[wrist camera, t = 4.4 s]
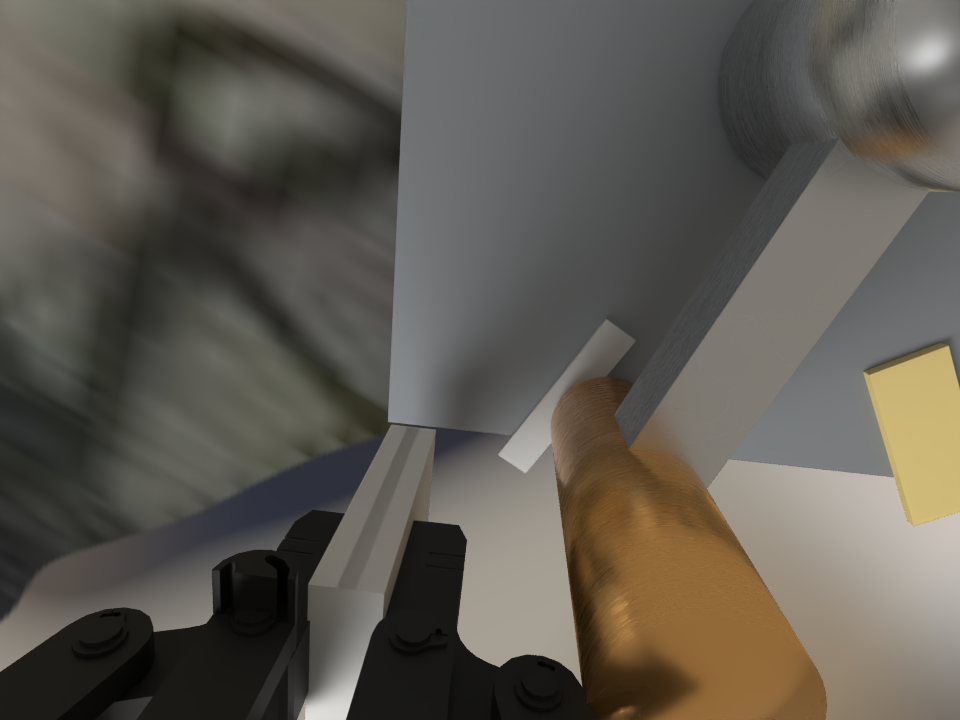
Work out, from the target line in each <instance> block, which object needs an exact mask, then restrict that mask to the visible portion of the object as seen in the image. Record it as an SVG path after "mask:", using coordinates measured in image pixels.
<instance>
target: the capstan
mask: <svg viewBox="0 0 960 720" xmlns="http://www.w3.org/2000/svg"><path fill="white" fill-rule="evenodd" d="M718 103H719V112H720V116H721V120H722V124H723V127H724V130H725V132H726V135H727V137H728V140H729V141H730V143H731V145H732V146H733V148H734V150H735V151H736V153H737V154H738V155H739V156H740V158H741V159H742V160H743V161H744V162H745V163H746V164H747V165H748V166H749V167H750V168H751V169H752V170H754V171H755V172H757V173H758V174H760V175H761V176H762V177H764V178H766V179H768V180H767V182H766V183H765V185H764V186H763V188H762V189H761V191H760V192H759V194H758V195H757V197H756V198H755V200H754V202H753V203H752V205H751V206H750V208H749V209H748V211H747V212H746V214H745V215H744V217H743V218H742V220H741V221H740V223H739V224H738V226H737V227H736V229H735V231H734V232H733V234H732V235H731V237H730V238H729V240H728V241H727V243H726V244H725V246H724V247H723V249H722V250H721V252H720V253H719V255H718V257H717V258H716V260H715V261H714V263H713V264H712V266H711V267H710V269H709V270H708V272H707V273H706V275H705V276H704V278H703V279H702V281H701V283H700V284H699V286H698V287H697V289H696V290H695V292H694V293H693V295H692V296H691V298H690V299H689V301H688V302H687V304H686V305H685V307H684V309H683V310H682V312H681V313H680V315H679V316H678V318H677V319H676V321H675V322H674V324H673V325H672V327H671V328H670V330H669V331H668V333H667V334H666V336H665V338H664V339H663V341H662V342H661V344H660V345H659V347H658V348H657V350H656V351H655V353H654V354H653V356H652V357H651V359H650V360H649V362H648V364H647V365H646V367H645V368H644V370H643V371H642V373H641V374H640V376H639V377H638V379H637V380H636V382H635V383H632V382H629V381H627V380H624V379H621V378H615V377H598V378H594V379H590V380H587V381H584V382H582V383H580V384H578V385H576V386H574V387H573V388H571V389H570V390H569V391H568V392H567V393H566V394H565V395H564V396H563V397H562V398H561V399H560V401H559V402H558V404H557V405H556V407H555V409H554V412H553V415H552V419H551V427H550V430H551V440H552V447H553V456H554V464H555V472H556V480H557V487H558V496H559V503H560V511H561V520H562V528H563V536H564V544H565V552H566V559H567V568H568V576H569V584H570V592H571V600H572V608H573V616H574V623H575V632H576V640H577V648H578V656H579V664H580V672H581V680H582V688H583V690H584V693H585V695H586V702H587V703H588V704H590V706H591V708H592V711H593V713H594V715H595V718H596V720H825V719H826V710H827V700H826V692H825V688H824V684H823V681H822V679H821V677H820V674H819V672H818V670H817V668H816V667H815V665H814V663H813V662H812V660H811V659H810V657H809V655H808V654H807V652H806V651H805V649H804V647H803V646H802V644H801V642H800V641H799V639H798V638H797V636H796V634H795V632H794V631H793V629H792V628H791V626H790V624H789V623H788V621H787V619H786V618H785V616H784V615H783V613H782V611H781V610H780V608H779V606H778V605H777V603H776V602H775V600H774V598H773V596H772V595H771V593H770V592H769V590H768V588H767V587H766V585H765V583H764V582H763V580H762V579H761V577H760V575H759V574H758V572H757V570H756V569H755V567H754V565H753V564H752V562H751V561H750V559H749V557H748V556H747V554H746V553H745V551H744V549H743V547H742V546H741V544H740V543H739V541H738V539H737V538H736V536H735V534H734V533H733V531H732V530H731V528H730V526H729V525H728V523H727V522H726V520H725V518H724V517H723V515H722V513H721V512H720V510H719V508H718V507H717V505H716V503H715V502H714V500H713V498H712V497H711V495H710V494H709V492H708V490H707V488H708V487H709V485H710V484H711V483H712V481H713V480H714V479H715V477H716V476H717V475H718V473H719V472H720V471H721V469H722V468H723V467H724V465H725V464H726V463H727V461H728V460H729V459H730V457H731V456H732V455H733V453H734V452H735V451H736V449H737V448H738V446H739V445H740V444H741V442H742V441H743V440H744V438H745V437H746V436H747V434H748V433H749V432H750V430H751V429H752V428H753V426H754V425H755V424H756V422H757V421H758V420H759V418H760V417H761V416H762V414H763V413H764V412H765V410H766V409H767V408H768V406H769V405H770V404H771V402H772V401H773V400H774V398H775V397H776V396H777V394H778V393H779V392H780V390H781V389H782V388H783V386H784V385H785V384H786V382H787V381H788V380H789V378H790V377H791V376H792V374H793V373H794V372H795V370H796V369H797V368H798V366H799V365H800V364H801V362H802V361H803V360H804V358H805V357H806V356H807V354H808V353H809V351H810V350H811V349H812V347H813V346H814V345H815V343H816V342H817V341H818V339H819V338H820V337H821V335H822V334H823V333H824V331H825V330H826V329H827V327H828V326H829V325H830V323H831V322H832V321H833V319H834V318H835V317H836V315H837V314H838V313H839V311H840V310H841V309H842V307H843V306H844V305H845V303H846V302H847V301H848V299H849V298H850V297H851V295H852V294H853V293H854V291H855V290H856V289H857V287H858V286H859V285H860V283H861V282H862V281H863V279H864V278H865V277H866V275H867V274H868V273H869V271H870V270H871V269H872V267H873V266H874V265H875V263H876V262H877V260H878V259H879V258H880V256H881V255H882V254H883V252H884V251H885V250H886V248H887V247H888V246H889V244H890V243H891V242H892V240H893V239H894V238H895V236H896V235H897V234H898V232H899V231H900V230H901V228H902V227H903V226H904V224H905V223H906V222H907V220H908V219H909V218H910V216H911V215H912V214H913V212H914V211H915V210H916V208H917V207H918V206H919V204H920V203H921V202H922V200H923V199H924V198H925V196H926V195H927V194H928V192H960V0H754V1H753V2H752V3H751V4H750V5H749V7H748V8H747V9H746V11H745V12H744V14H743V15H742V17H741V18H740V20H739V21H738V23H737V25H736V26H735V28H734V30H733V32H732V34H731V36H730V38H729V41H728V44H727V46H726V49H725V51H724V55H723V59H722V63H721V67H720V73H719V80H718Z"/></svg>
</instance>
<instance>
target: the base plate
mask: <svg viewBox="0 0 960 720" xmlns="http://www.w3.org/2000/svg"><path fill="white" fill-rule="evenodd" d="M753 1H754V0H407V7H406V29H405V52H404V74H403V97H402V119H401V142H400V164H399V187H398V209H397V232H396V254H395V277H394V299H393V322H392V344H391V367H390V389H389V412H388V422H395V423H404V424H413V425H422V426H433V427H441V428H450V429H459V430H468V431H478V432H487V433H496V434H504V435H505V434H506V435H511V436H510V438H509V439H508V440H507V441H506V443H505V444H504V445H503V446H502V448H501V449H500V450H499V452H498V455H499V456H501V457H502V458H503V459H505V460H507V461H508V462H510V463H511V464H513V465H514V466H515V467H517V468H519V469H520V470H522V471H523V472H524V473H526V472H527V471H528V470H529V468H530V467H531V466H532V465H533V464H534V463H535V461H536V460H537V459H538V458H539V457H540V455H541V454H542V453H543V452H544V450H545V449H546V448H547V447H548V445H550V443H551V442H552V440H551V430H550V427H551V419H552V415H553V412H554V409H555V407H556V405H557V404H558V402H559V401H560V399H561V398H562V397H563V396H564V395H565V394H566V393H567V392H568V391H569V390H570V389H571V388H573V387H574V386H576V385H578V384H580V383H582V382H584V381H587V380H590V379H594V378H598V377H615V378H621V379H624V380H627V381H629V382H632V383H635V382H636V380H637V379H638V377H639V376H640V374H641V373H642V371H643V370H644V368H645V367H646V365H647V364H648V362H649V360H650V359H651V357H652V356H653V354H654V353H655V351H656V350H657V348H658V347H659V345H660V344H661V342H662V341H663V339H664V338H665V336H666V334H667V333H668V331H669V330H670V328H671V327H672V325H673V324H674V322H675V321H676V319H677V318H678V316H679V315H680V313H681V312H682V310H683V309H684V307H685V305H686V304H687V302H688V301H689V299H690V298H691V296H692V295H693V293H694V292H695V290H696V289H697V287H698V286H699V284H700V283H701V281H702V279H703V278H704V276H705V275H706V273H707V272H708V270H709V269H710V267H711V266H712V264H713V263H714V261H715V260H716V258H717V257H718V255H719V253H720V252H721V250H722V249H723V247H724V246H725V244H726V243H727V241H728V240H729V238H730V237H731V235H732V234H733V232H734V231H735V229H736V227H737V226H738V224H739V223H740V221H741V220H742V218H743V217H744V215H745V214H746V212H747V211H748V209H749V208H750V206H751V205H752V203H753V202H754V200H755V198H756V197H757V195H758V194H759V192H760V191H761V189H762V188H763V186H764V185H765V183H766V182H767V180H768V179H766V178H764V177H762V176H761V175H760V174H758V173H757V172H755V171H754V170H752V169H751V168H750V167H749V166H748V165H747V164H746V163H745V162H744V161H743V160H742V159H741V158H740V156H739V155H738V154H737V153H736V151H735V150H734V148H733V146H732V145H731V143H730V141H729V140H728V137H727V135H726V132H725V130H724V127H723V124H722V120H721V116H720V112H719V103H718V80H719V73H720V67H721V63H722V59H723V55H724V51H725V49H726V46H727V44H728V41H729V38H730V36H731V34H732V32H733V30H734V28H735V26H736V25H737V23H738V21H739V20H740V18H741V17H742V15H743V14H744V12H745V11H746V9H747V8H748V7H749V5H750V4H751V3H752V2H753ZM730 459H732V460H742V461H751V462H760V463H769V464H778V465H788V466H796V467H805V468H815V469H823V470H833V471H842V472H851V473H860V474H869V475H878V476H887V477H894V478H895V481H896V484H897V488H898V491H899V494H900V498H901V501H902V504H903V508H904V511H905V515H906V518H907V521H908V522H910V523H911V524H912V525H913V526H917V525H920V524H923V523H926V522H930V521H932V520H936V519H939V518H942V517H945V516H948V515H952V514H955V513H958V512H960V192H928V194H927V195H926V196H925V198H924V199H923V200H922V202H921V203H920V204H919V206H918V207H917V208H916V210H915V211H914V212H913V214H912V215H911V216H910V218H909V219H908V220H907V222H906V223H905V224H904V226H903V227H902V228H901V230H900V231H899V232H898V234H897V235H896V236H895V238H894V239H893V240H892V242H891V243H890V244H889V246H888V247H887V248H886V250H885V251H884V252H883V254H882V255H881V256H880V258H879V259H878V260H877V262H876V263H875V265H874V266H873V267H872V269H871V270H870V271H869V273H868V274H867V275H866V277H865V278H864V279H863V281H862V282H861V283H860V285H859V286H858V287H857V289H856V290H855V291H854V293H853V294H852V295H851V297H850V298H849V299H848V301H847V302H846V303H845V305H844V306H843V307H842V309H841V310H840V311H839V313H838V314H837V315H836V317H835V318H834V319H833V321H832V322H831V323H830V325H829V326H828V327H827V329H826V330H825V331H824V333H823V334H822V335H821V337H820V338H819V339H818V341H817V342H816V343H815V345H814V346H813V347H812V349H811V350H810V351H809V353H808V354H807V356H806V357H805V358H804V360H803V361H802V362H801V364H800V365H799V366H798V368H797V369H796V370H795V372H794V373H793V374H792V376H791V377H790V378H789V380H788V381H787V382H786V384H785V385H784V386H783V388H782V389H781V390H780V392H779V393H778V394H777V396H776V397H775V398H774V400H773V401H772V402H771V404H770V405H769V406H768V408H767V409H766V410H765V412H764V413H763V414H762V416H761V417H760V418H759V420H758V421H757V422H756V424H755V425H754V426H753V428H752V429H751V430H750V432H749V433H748V434H747V436H746V437H745V438H744V440H743V441H742V442H741V444H740V445H739V446H738V448H737V449H736V451H735V452H734V453H733V455H732V456H731V457H730Z"/></svg>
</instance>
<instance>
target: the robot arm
mask: <svg viewBox="0 0 960 720" xmlns="http://www.w3.org/2000/svg"><path fill="white" fill-rule="evenodd" d="M435 433H436V430H432V429H424V428H416V427H407V426H398V425H391V427H390V429H389V431H388V432H387V434H386V436H385V438H384V440H383V442H382V444H381V446H380V448H379V450H378V452H377V454H376V455H375V458H374V459H373V461H372V463H371V465H370V467H369V469H368V471H367V473H366V475H365V477H364V478H363V480H362V482H361V484H360V486H359V488H358V490H357V492H356V494H355V496H354V498H353V500H352V502H351V503H350V505H349V507H348V509H347V511H346V513H345V514H344V513H334V512H327V511H318V510H312V511H311V512H309V513H308V514H306V515H304V516H303V517H301V518H300V519H298V520H297V521H295V523H294V524H293V526H292V527H291V529H290V530H289V532H288V533H287V535H286V536H285V540H283V541H282V542H281V544H280V545H279V547H278V548H277V551H273V550H252V551H247V552H243V553H238V554H236V555H234V556H231V557H229V558H227V559H225V560H223V561H222V562H221V563H219V564H218V565H217V566H216V567H215V568H214V569H212V586H213V615H212V617H211V618H210V620H209V621H208V622H207V623H206V624H204V625H200V626H195V627H190V628H183V629H176V630H167V631H159V632H153V625H152V622H151V619H150V617H149V616H148V615H146V614H145V613H143V612H142V611H140V610H136V609H130V608H114V609H105V610H102V611H99V612H96V613H93V614H89V615H86V616H84V617H82V618H81V619H79V620H77V621H75V622H73V623H71V624H69V625H68V626H66V627H65V628H63V629H62V630H60V631H59V632H58V633H56V634H55V635H53V636H52V637H50V638H49V639H47V640H46V641H45V642H43V643H42V644H40V645H39V646H37V647H36V648H34V649H33V650H31V651H30V652H29V653H27V654H26V655H24V656H23V657H21V658H20V659H18V660H17V661H16V662H14V663H13V664H11V665H10V666H8V667H7V668H6V669H4V670H2V671H1V672H0V720H297V718H298V715H299V713H300V711H301V708H302V706H303V704H304V701H305V699H306V711H305V720H596V718H595V715H594V713H593V711H592V708H591V706H590V704H588V703H587V702H586V695H585V693H584V690H583V688H582V686H581V685H580V683H579V682H578V680H577V679H576V677H575V676H574V674H573V673H572V672H571V671H570V670H568V669H567V668H566V667H564V666H563V665H562V664H561V663H559V662H557V661H555V660H552V659H549V658H547V657H544V656H537V655H523V656H519V657H515V658H511V659H510V660H509V661H507V662H506V663H505V664H503V665H502V666H501V667H497V666H495V665H492V664H490V663H488V662H486V661H484V660H482V659H480V658H478V657H476V656H475V655H474V654H473V653H471V652H470V651H469V650H468V649H467V648H466V647H465V645H464V644H463V643H462V641H461V640H460V637H459V635H458V632H457V624H458V616H459V607H460V599H461V589H462V580H463V571H464V562H465V553H466V543H467V539H466V538H465V536H464V534H463V532H462V530H461V529H460V526H459V525H451V524H443V523H434V522H428V516H429V504H430V493H431V492H430V491H431V480H432V469H433V458H434V446H435Z"/></svg>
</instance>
